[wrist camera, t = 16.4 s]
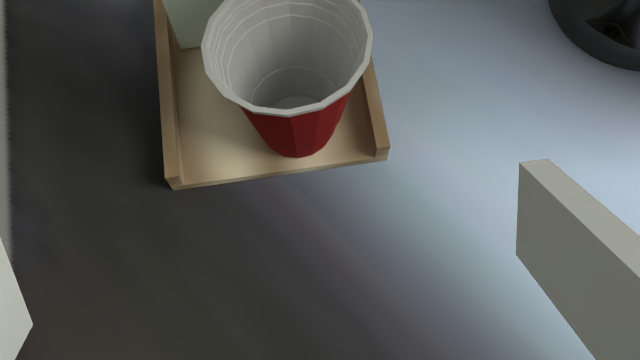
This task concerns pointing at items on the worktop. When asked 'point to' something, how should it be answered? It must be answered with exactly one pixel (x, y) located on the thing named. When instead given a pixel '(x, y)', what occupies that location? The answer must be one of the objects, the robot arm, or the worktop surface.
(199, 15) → the pusher
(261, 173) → the wooden tray
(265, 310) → the worktop surface
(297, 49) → the plastic cup
